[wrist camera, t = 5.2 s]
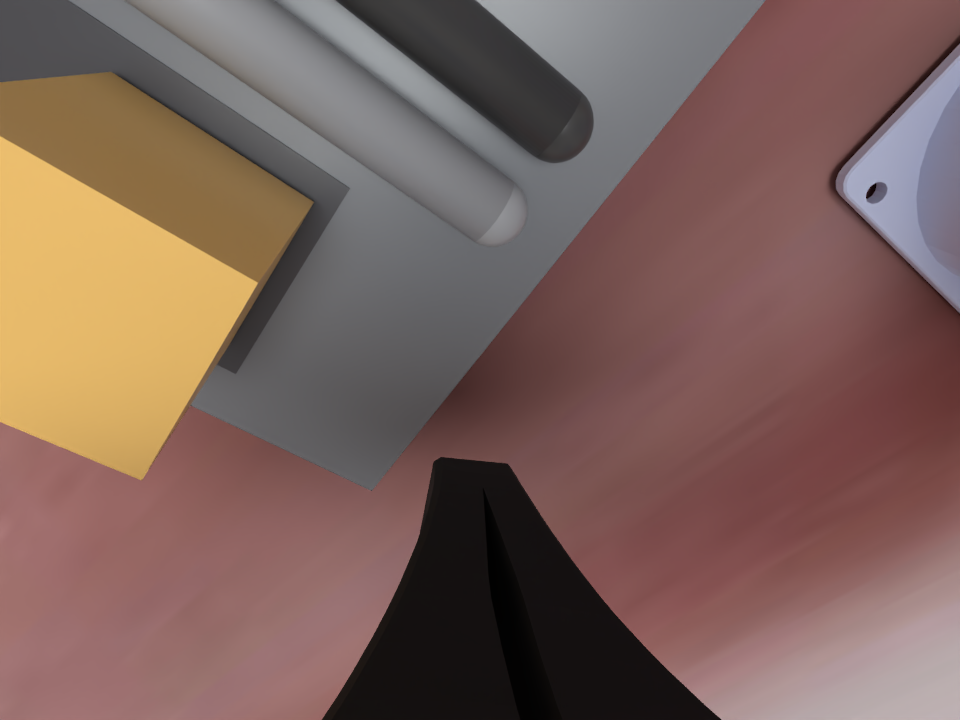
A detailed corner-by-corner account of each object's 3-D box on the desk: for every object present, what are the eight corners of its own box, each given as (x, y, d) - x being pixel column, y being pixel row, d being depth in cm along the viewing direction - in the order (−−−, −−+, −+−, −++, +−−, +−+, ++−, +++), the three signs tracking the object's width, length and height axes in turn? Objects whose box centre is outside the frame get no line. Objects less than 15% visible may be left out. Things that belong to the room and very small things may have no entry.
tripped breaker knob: (314, 202, 12) (258, 283, 8) (227, 348, 13) (142, 479, 9) (111, 71, 10) (-82, 89, 6) (37, 250, 12) (-157, 356, 8)
